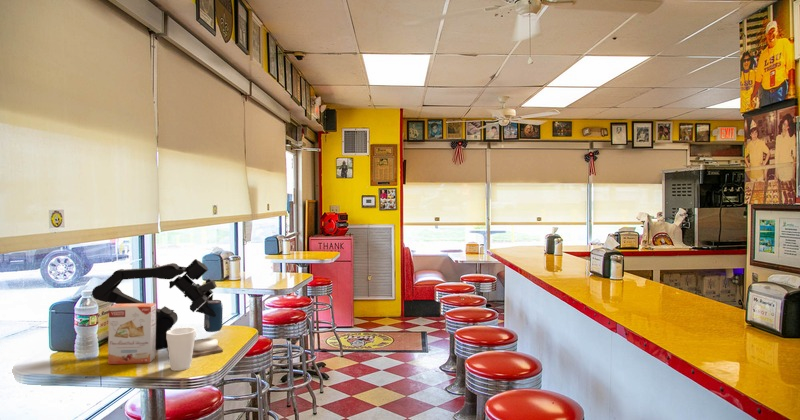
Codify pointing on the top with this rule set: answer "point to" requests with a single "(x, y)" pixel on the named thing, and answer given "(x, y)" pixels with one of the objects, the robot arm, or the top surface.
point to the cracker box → (132, 333)
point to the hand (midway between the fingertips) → (216, 313)
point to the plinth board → (196, 353)
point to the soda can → (214, 322)
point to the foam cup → (180, 347)
